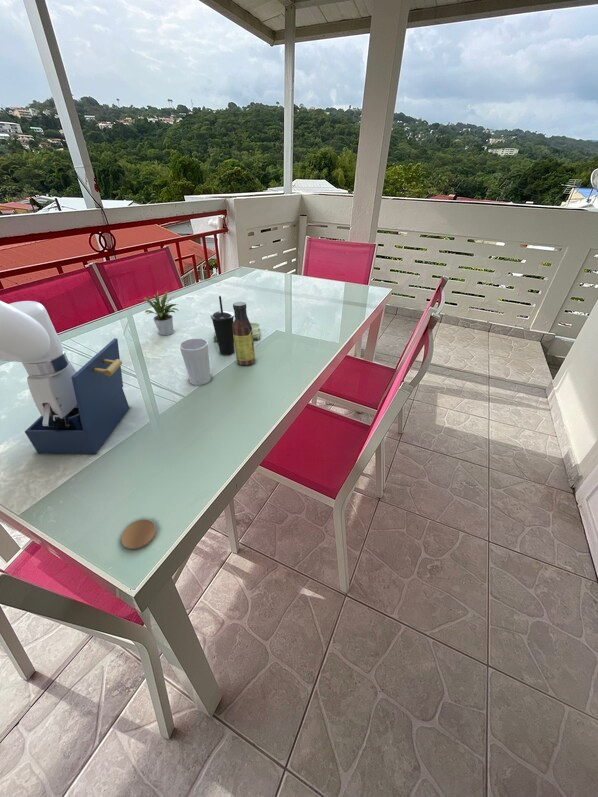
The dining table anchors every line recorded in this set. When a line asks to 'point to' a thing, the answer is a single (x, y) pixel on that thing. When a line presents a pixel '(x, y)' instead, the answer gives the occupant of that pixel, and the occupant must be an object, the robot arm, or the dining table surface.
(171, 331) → the house plant
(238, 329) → the sauce bottle
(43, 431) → the chest
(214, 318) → the drinking cup
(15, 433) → the dining table surface
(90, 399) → the lid
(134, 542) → the coaster
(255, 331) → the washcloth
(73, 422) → the tumbler
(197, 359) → the cup
